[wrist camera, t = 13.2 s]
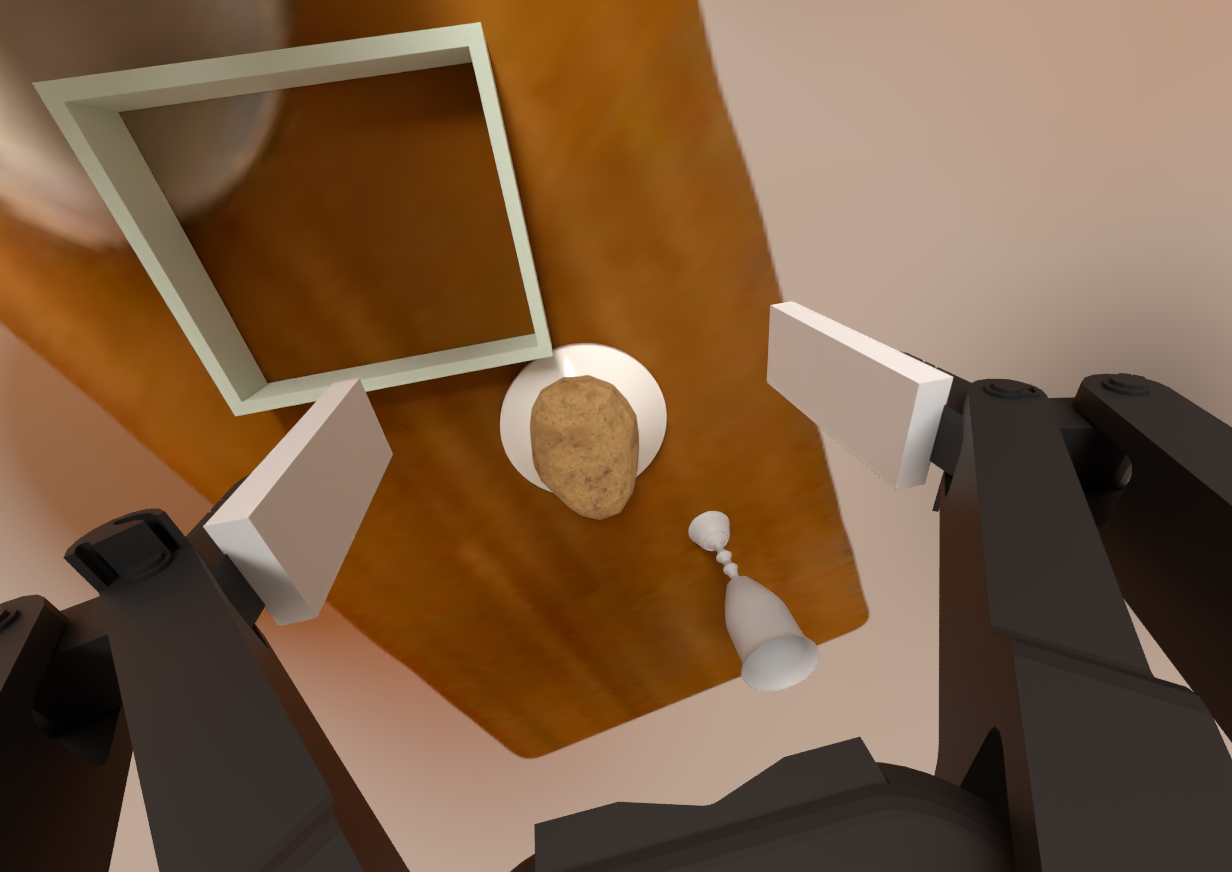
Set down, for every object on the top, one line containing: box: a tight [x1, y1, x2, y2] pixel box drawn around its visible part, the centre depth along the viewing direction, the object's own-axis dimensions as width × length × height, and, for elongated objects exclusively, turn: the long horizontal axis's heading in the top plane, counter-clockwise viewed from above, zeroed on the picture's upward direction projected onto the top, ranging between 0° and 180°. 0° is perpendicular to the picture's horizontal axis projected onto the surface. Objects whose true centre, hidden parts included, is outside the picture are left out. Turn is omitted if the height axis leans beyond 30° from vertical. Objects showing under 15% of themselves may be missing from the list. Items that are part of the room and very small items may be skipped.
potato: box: [530, 375, 639, 520], centre depth 41 cm, size 10×14×8 cm
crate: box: [32, 22, 553, 416], centre depth 34 cm, size 21×25×4 cm
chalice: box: [688, 511, 820, 691], centre depth 47 cm, size 7×7×18 cm
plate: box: [500, 343, 667, 492], centre depth 45 cm, size 16×16×1 cm
